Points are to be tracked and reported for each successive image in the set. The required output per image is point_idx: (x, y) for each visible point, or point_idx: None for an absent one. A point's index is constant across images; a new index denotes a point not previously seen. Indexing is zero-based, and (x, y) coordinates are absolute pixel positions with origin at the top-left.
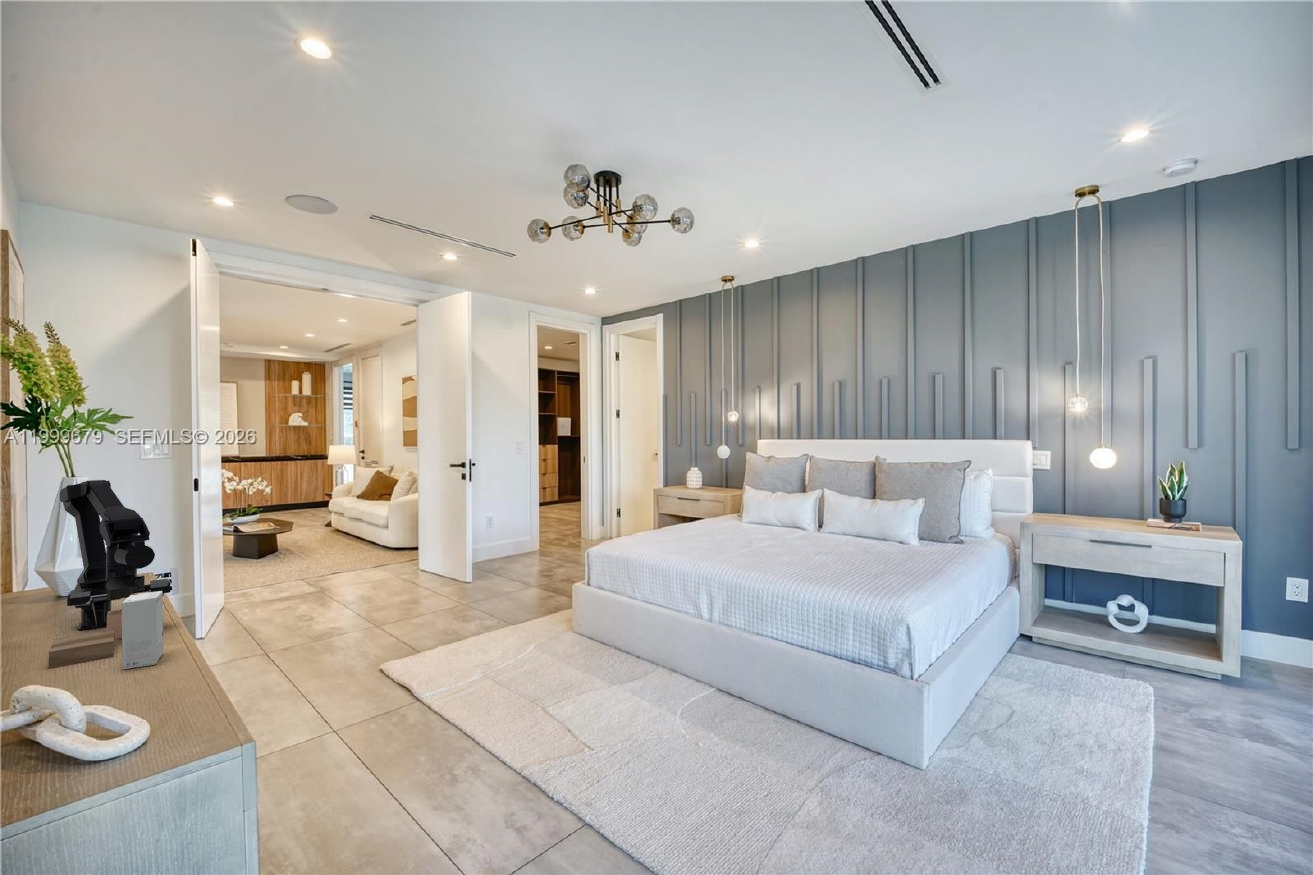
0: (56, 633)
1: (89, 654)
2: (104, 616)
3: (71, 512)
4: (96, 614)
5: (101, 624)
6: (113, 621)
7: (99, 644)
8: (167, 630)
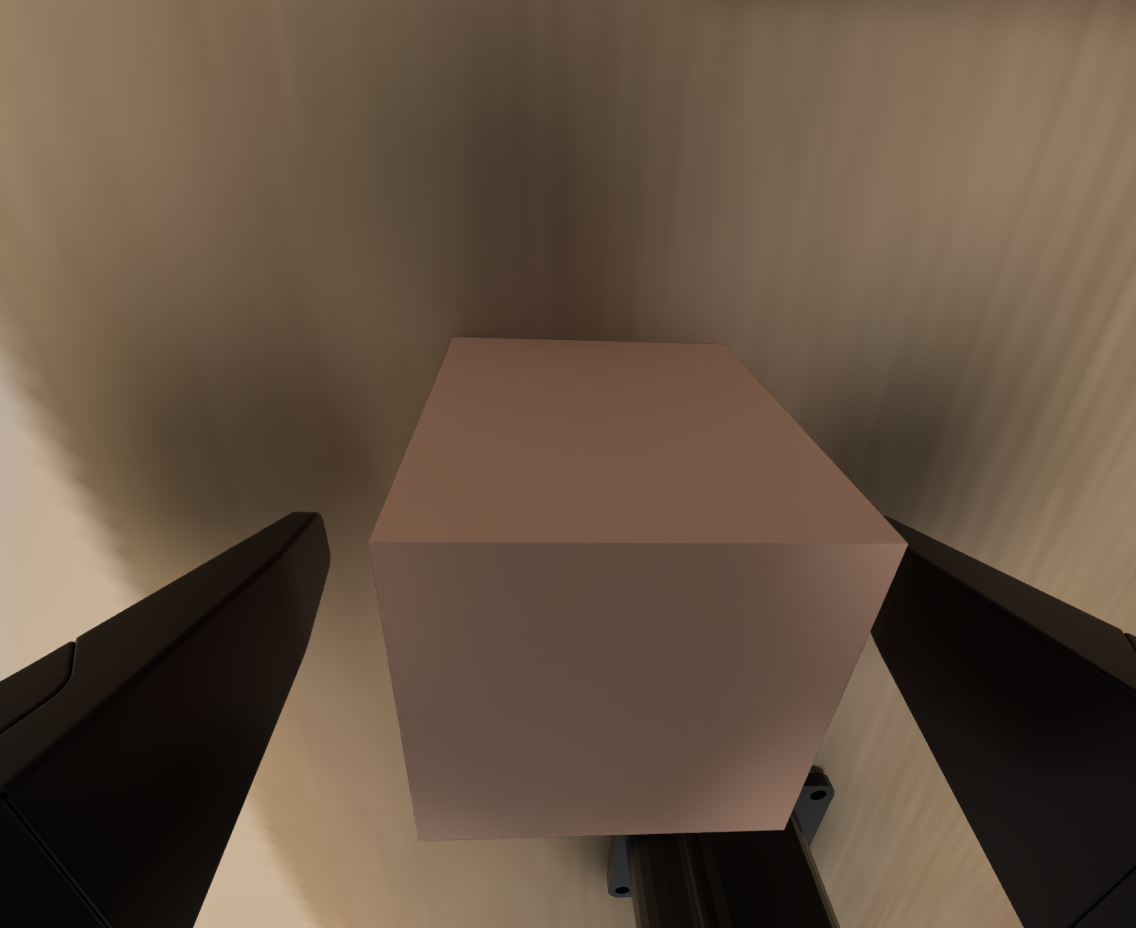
0: (929, 788)
1: None
2: (693, 877)
3: None
4: (769, 906)
5: None
6: (734, 463)
7: None
8: (71, 297)
